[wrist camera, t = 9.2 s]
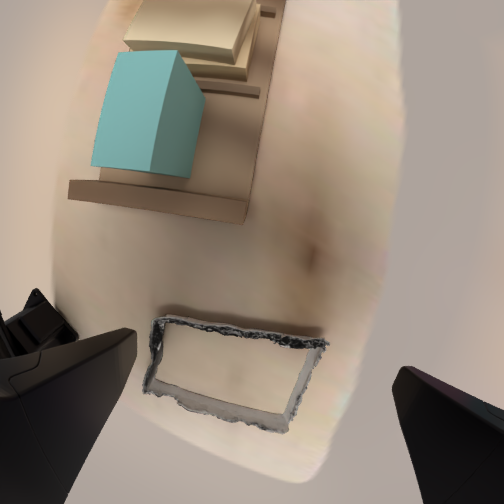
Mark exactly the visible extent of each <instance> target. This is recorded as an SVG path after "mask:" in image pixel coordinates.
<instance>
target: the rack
mask: <svg viewBox="0 0 504 504" xmlns="http://www.w3.org/2000/svg"><path fill="white" fill-rule="evenodd" d="M285 2H286V0H256V4H260V24H259V29H258V33H257V37H256V42H255V46H254V51H253V55H252V60H251V65H250V69H249V74H248V79H247V82H243V81H234V80H225V79H215V78H201V77H193V78H194V79H195V81H196V83H197V84H198V86H199V88H200V90H201V91H202V93H203V95H204V97H205V98H206V100H205V104H204V109H203V113H202V118H201V123H200V128H199V133H198V138H197V143H196V148H195V153H194V159H193V164H192V170H191V176H190V178H183V177H175V176H167V175H159V174H151V173H143V172H136V171H129V170H121V169H113V168H105V167H101V171H100V178H99V180H70V182H69V191H68V199H71V200H79V201H87V202H94V203H102V204H109V205H116V206H124V207H131V208H138V209H144V210H151V211H158V212H165V213H171V214H178V215H184V216H191V217H197V218H203V219H209V220H215V221H222V222H228V223H234V224H240V225H243V223H244V221H245V218H246V214H247V209H248V203H249V197H250V191H251V185H252V180H253V174H254V168H255V162H256V157H257V151H258V146H259V140H260V134H261V129H262V123H263V118H264V112H265V107H266V101H267V96H268V90H269V85H270V80H271V74H272V69H273V64H274V58H275V53H276V48H277V43H278V38H279V32H280V27H281V22H282V17H283V12H284V7H285ZM129 51H130V49H129Z"/></svg>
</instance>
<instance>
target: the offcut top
mask: <svg viewBox="0 0 504 504" xmlns="http://www.w3.org/2000/svg"><path fill="white" fill-rule="evenodd" d="M255 12H256V0H144V1H143V2H142V4H141V6H140V8H139V9H138V11H137V13H136V15H135V17H134V19H133V21H132V22H131V24H130V26H129V28H128V30H127V32H126V34H125V36H124V38H123V41H124V42H125V43H126V44H127V45H128V46H129V47H130V48H131V49H132V50H133V51H153V50H178V52H179V54H180V55H181V57H184V58H192V59H200V60H207V61H213V62H219V63H225V64H230V65H235V63H236V61H237V58H238V55H239V53H240V50H241V47H242V45H243V42H244V39H245V37H246V34H247V32H248V29H249V27H250V24H251V22H252V19H253V17H254V14H255Z"/></svg>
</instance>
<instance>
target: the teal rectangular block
mask: <svg viewBox="0 0 504 504" xmlns="http://www.w3.org/2000/svg"><path fill="white" fill-rule="evenodd" d="M205 100H206V98H205V97H204V95H203V93H202V91H201V90H200V88H199V86H198V84H197V83H196V81H195V79H194V78H193V76H192V74H191V72H190V71H189V69H188V67H187V65H186V64H185V62H184V60H183V59H182V57H181V55H180V54H179V52H178V50H153V51H133V52H120V53H118V56H117V59H116V62H115V65H114V68H113V71H112V74H111V78H110V81H109V84H108V88H107V91H106V95H105V99H104V103H103V107H102V111H101V115H100V119H99V124H98V129H97V133H96V138H95V144H94V149H93V155H92V161H91V166H96V167H105V168H113V169H121V170H129V171H136V172H143V173H151V174H159V175H167V176H175V177H183V178H190V176H191V170H192V164H193V159H194V153H195V148H196V143H197V138H198V133H199V128H200V123H201V118H202V113H203V109H204V104H205Z"/></svg>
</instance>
